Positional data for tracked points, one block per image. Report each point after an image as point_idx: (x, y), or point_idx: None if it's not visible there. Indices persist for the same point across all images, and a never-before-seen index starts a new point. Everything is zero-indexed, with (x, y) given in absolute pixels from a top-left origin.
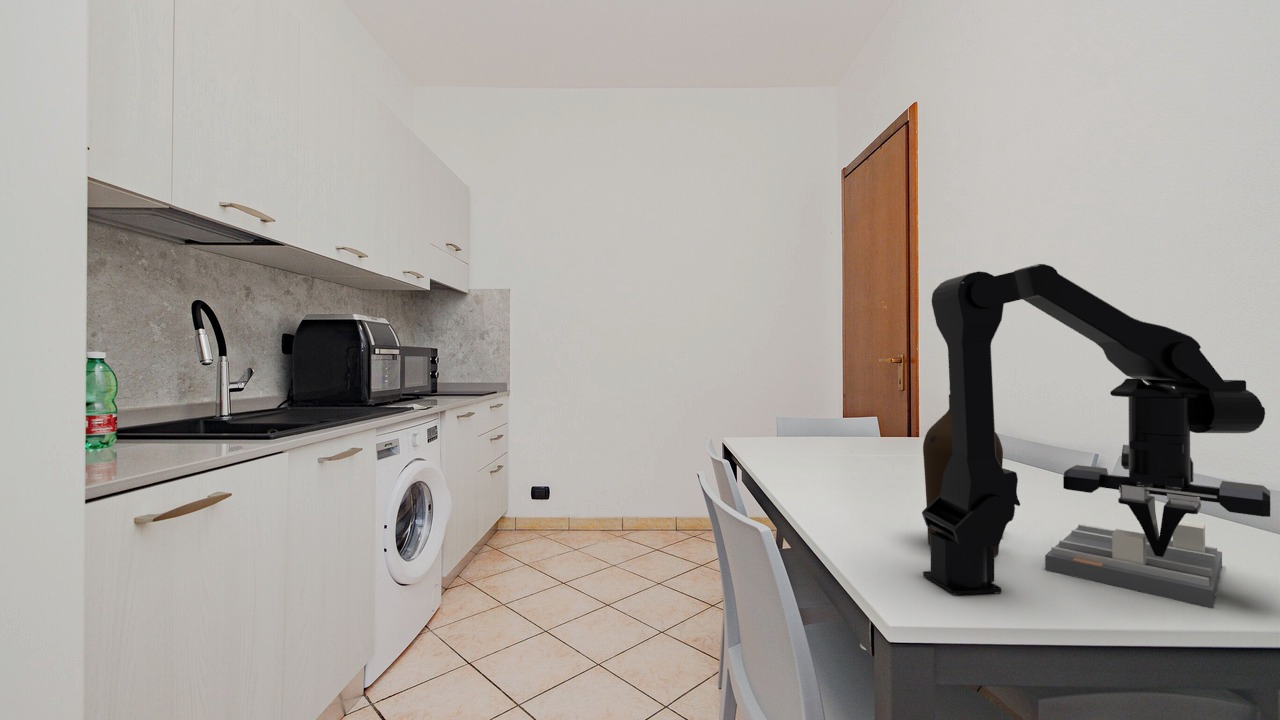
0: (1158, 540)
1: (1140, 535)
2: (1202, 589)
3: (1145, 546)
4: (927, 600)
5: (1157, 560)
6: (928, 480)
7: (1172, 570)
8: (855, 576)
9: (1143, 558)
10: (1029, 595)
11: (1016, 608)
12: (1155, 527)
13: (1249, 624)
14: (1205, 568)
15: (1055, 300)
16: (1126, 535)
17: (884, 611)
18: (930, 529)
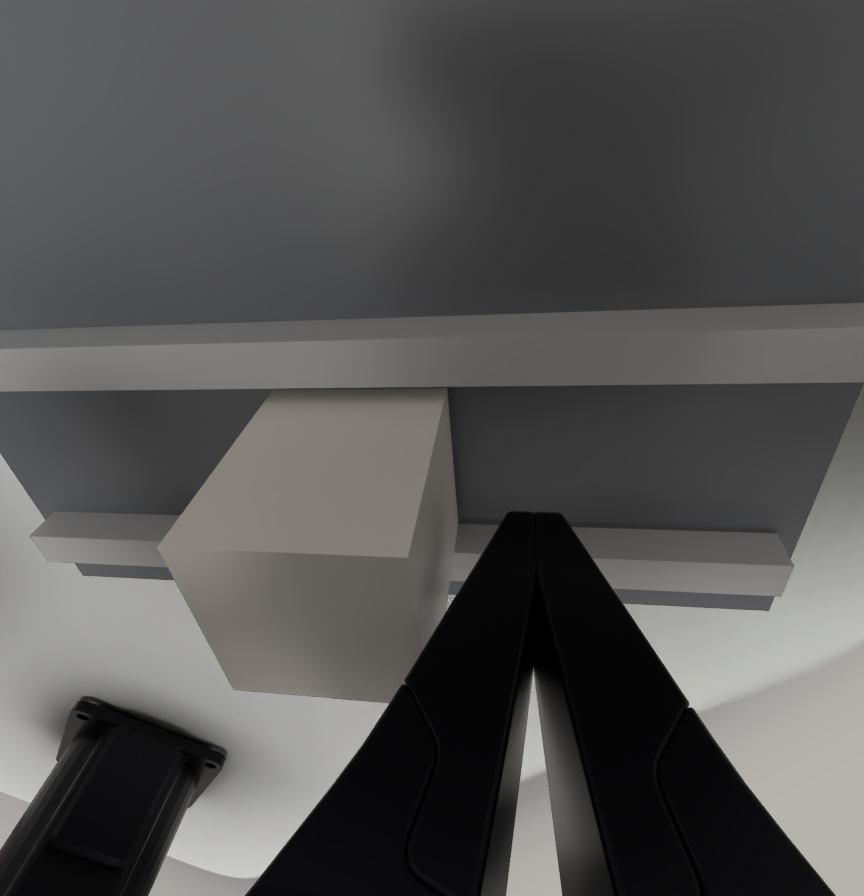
0: (531, 659)
1: (386, 630)
2: (724, 605)
3: (432, 522)
4: (187, 821)
5: (509, 381)
6: None
7: (600, 391)
8: (29, 796)
9: (450, 553)
10: (267, 731)
11: (299, 792)
12: (510, 822)
13: (834, 618)
14: (842, 353)
15: None
16: (317, 685)
17: (194, 863)
18: None
